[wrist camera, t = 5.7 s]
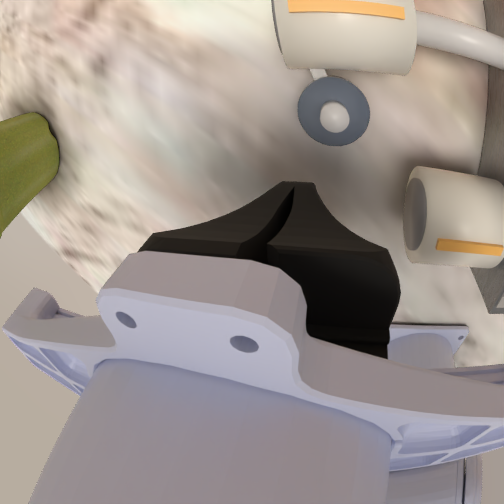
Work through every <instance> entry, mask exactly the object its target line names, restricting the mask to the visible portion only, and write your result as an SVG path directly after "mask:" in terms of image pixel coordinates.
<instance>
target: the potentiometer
mask: <svg viewBox="0 0 504 504" xmlns="http://www.w3.org/2000/svg"><path fill="white" fill-rule="evenodd" d="M310 71H311V73H312V76H313V78H314V81H313V82H312V83H311V84H310V85H309V86H308V87H307V88H306V89H305V90H304V91H303V93H302V95H301V96H300V99H299V102H298V117H299V121H300V123H301V125H302V127H303V129H304V130H305V131H306V133H307V134H308V135H309V136H310V137H311V138H313V139H314V140H316V141H318V142H320V143H322V144H325V145H329V146H343V145H347V144H350V143H352V142H354V141H356V140H357V139H358V138H359V137H361V136H362V134H363V133H364V132H365V130H366V128H367V126H368V123H369V118H370V110H369V105H368V102H367V100H366V98H365V96H364V95H363V93H362V92H361V91H360V90H359V89H358V88H357V87H356V86H355V85H353V84H352V83H351V82H349V81H348V80H346V79H344V78H341V77H337V76H327V73H326V71H325V69H310Z"/></svg>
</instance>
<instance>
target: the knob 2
mask: <svg viewBox="0 0 504 504" xmlns="http://www.w3.org/2000/svg"><path fill="white" fill-rule="evenodd" d="M403 231H404V243H405V249H406V253H407V256H408V259H409V260H410V261H411V262H412V263H421V264H434V265H448V266H462V267H475V268H493V267H495V266H497V265H498V264H499V263H500V262H501V261H502V259H503V258H504V186H503V185H502V184H501V183H500V182H499V181H497V180H495V179H490V178H485V177H481V176H476V175H470V174H465V173H460V172H454V171H448V170H442V169H435V168H429V167H422V166H416V167H415V168H414V169H413V170H412V172H411V174H410V177H409V180H408V184H407V189H406V195H405V201H404V211H403Z"/></svg>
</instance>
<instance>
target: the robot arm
mask: <svg viewBox="0 0 504 504" xmlns="http://www.w3.org/2000/svg"><path fill="white" fill-rule="evenodd" d="M400 294H401V291H400V283H399V278H398V275H397V271H396V269H395V266H394V263H393V261H392V259H391V256H390V254H389V252H388V250H387V249H386V248H383V247H381V246H378V245H376V244H374V243H371V242H369V241H367V240H365V239H363V238H361V237H360V236H358V235H356V234H355V233H353V232H351V231H350V230H349V229H347V228H346V227H345V226H343V225H342V224H341V223H340V222H339V221H337V220H336V219H335V218H334V217H333V215H332V214H331V213H330V212H329V210H328V209H327V208H326V206H325V205H324V203H323V202H322V200H321V198H320V197H319V195H318V193H317V190H316V186H315V184H314V183H309V182H286V181H283V182H281V183H279V184H278V185H276V186H275V187H273V188H272V189H270V190H269V191H268V192H266V193H265V194H263V195H262V196H260V197H259V198H257V199H255V200H254V201H252V202H250V203H249V204H247V205H245V206H243V207H242V208H240V209H238V210H236V211H233V212H231V213H229V214H227V215H224V216H221V217H219V218H216V219H213V220H210V221H208V222H204V223H201V224H197V225H194V226H190V227H185V228H181V229H176V230H170V231H164V232H158V233H153V234H152V235H151V236H150V237H149V239H148V240H147V241H146V242H145V243H144V244H143V246H142V247H141V248H140V249H139V251H138V252H137V253H132V254H129V255H128V256H127V257H126V258H125V260H124V261H123V262H122V263H121V265H120V266H119V267H118V268H117V269H116V271H115V272H114V273H113V274H112V276H111V277H110V278H109V279H108V281H107V282H106V283H105V284H104V286H103V287H102V288H101V290H100V292H99V294H98V296H97V298H96V303H97V307H98V309H99V312H100V315H99V316H83V315H79V314H76V313H73V312H70V311H68V310H65V309H62V308H59V305H58V303H57V301H56V300H55V298H54V297H53V296H52V295H51V294H50V293H48V292H47V291H44V290H41V289H38V288H33V289H32V290H31V292H30V293H29V294H28V295H27V296H26V298H25V299H24V300H23V301H22V302H21V304H20V305H19V306H18V307H17V309H16V310H15V311H14V312H13V314H12V315H11V316H10V317H9V319H8V320H7V321H6V323H5V324H4V325H3V327H2V330H3V331H4V333H5V334H6V335H7V336H8V337H9V339H10V340H11V341H12V342H13V343H14V344H15V346H16V347H17V348H18V349H19V350H20V351H21V352H22V353H23V354H24V356H25V357H26V358H27V359H28V360H29V361H30V362H31V363H32V364H33V365H34V366H35V367H37V368H38V369H39V370H41V371H42V372H44V373H45V374H47V375H49V376H50V377H52V378H53V379H55V380H56V381H57V382H59V383H61V384H62V385H64V386H65V387H67V388H68V389H70V390H71V391H73V392H74V393H76V394H78V395H79V396H80V398H79V400H78V402H77V404H76V405H75V407H74V409H73V411H72V413H71V414H70V416H69V418H68V420H67V422H66V424H65V426H64V428H63V430H62V432H61V434H60V436H59V438H58V440H57V441H56V444H55V446H54V448H53V450H52V452H51V454H50V456H49V458H48V460H47V462H46V464H45V466H44V469H43V471H42V473H41V475H40V477H39V480H38V482H37V484H36V487H35V489H34V491H33V493H32V496H31V498H30V501H29V503H28V504H481V493H482V454H481V453H485V452H488V451H492V450H495V449H498V448H502V447H504V364H498V365H488V366H475V367H459V368H455V363H454V358H453V355H454V354H455V353H456V351H457V350H458V348H459V347H460V345H461V344H462V342H463V341H464V339H465V338H466V336H467V335H468V333H469V329H468V327H467V326H422V325H393V324H391V323H392V320H393V317H394V315H395V312H396V310H397V307H398V304H399V300H400ZM465 458H466V466H465Z"/></svg>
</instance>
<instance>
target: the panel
mask: <svg viewBox="0 0 504 504" xmlns="http://www.w3.org/2000/svg"><path fill="white" fill-rule="evenodd" d="M484 8H485V16H486V24H487V31H488V32H490V33H493V34H495V35H498V36H500V37H502V38H504V0H484ZM478 176H481V177H485V178H490V179H495V180H497V181H499V182H500V183H501V184H502V185H503V186H504V70H502V69H499V68H496V67H494V66H491V65H489V88H488V106H487V118H486V127H485V135H484V142H483V149H482V155H481V161H480V166H479V172H478ZM470 268H471V271H472V273H473V275H474V277H475V280H476V282H477V284H478V287H479V289H480V292H481V294H482V297H483V299H484V302H485V304H486V307H487V310H488V313H489V314H504V258H503V259H502V261H501V262H500V263H499V264H498V265H497V266H495V267H493V268H475V267H470Z"/></svg>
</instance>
